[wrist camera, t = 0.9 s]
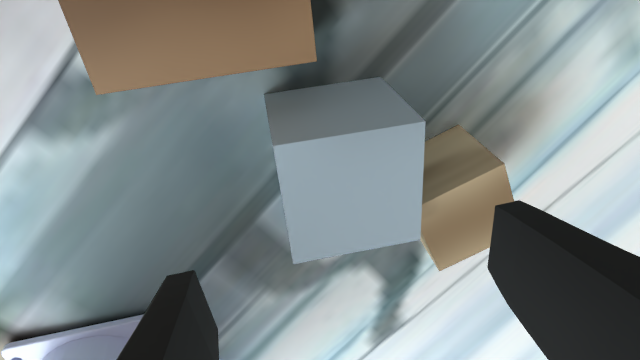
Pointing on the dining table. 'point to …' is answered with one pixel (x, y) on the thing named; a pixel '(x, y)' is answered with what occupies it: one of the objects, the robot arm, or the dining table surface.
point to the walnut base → (186, 39)
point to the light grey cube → (347, 167)
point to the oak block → (459, 196)
